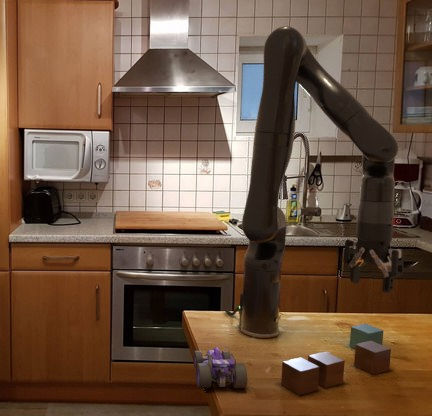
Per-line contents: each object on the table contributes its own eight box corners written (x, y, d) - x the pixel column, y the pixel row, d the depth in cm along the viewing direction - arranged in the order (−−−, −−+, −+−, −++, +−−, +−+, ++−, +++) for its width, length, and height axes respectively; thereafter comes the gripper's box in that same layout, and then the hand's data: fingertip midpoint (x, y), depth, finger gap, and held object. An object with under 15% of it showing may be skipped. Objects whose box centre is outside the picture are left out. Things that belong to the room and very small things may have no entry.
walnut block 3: (353, 365, 116) (355, 344, 115) (369, 361, 118) (371, 340, 118) (373, 374, 112) (375, 352, 111) (389, 370, 114) (391, 348, 113)
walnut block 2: (306, 377, 110) (307, 355, 110) (324, 373, 112) (325, 351, 112) (325, 388, 106) (326, 364, 105) (343, 383, 108) (344, 360, 107)
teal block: (349, 346, 127) (350, 326, 126) (364, 342, 129) (365, 323, 128) (367, 354, 122) (368, 333, 121) (382, 350, 124) (383, 330, 124)
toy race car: (229, 360, 119) (230, 332, 118) (247, 392, 104) (248, 361, 103) (187, 360, 119) (188, 332, 118) (199, 392, 104) (200, 361, 103)
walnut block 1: (281, 384, 107) (282, 361, 107) (299, 379, 109) (300, 357, 109) (299, 395, 103) (300, 371, 102) (318, 390, 105) (319, 366, 104)
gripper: (338, 216, 126) (334, 281, 128) (391, 225, 113) (386, 298, 115) (360, 214, 129) (356, 278, 131) (414, 223, 116) (409, 293, 118)
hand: (370, 287), depth 123 cm, fingers open, 8 cm apart
